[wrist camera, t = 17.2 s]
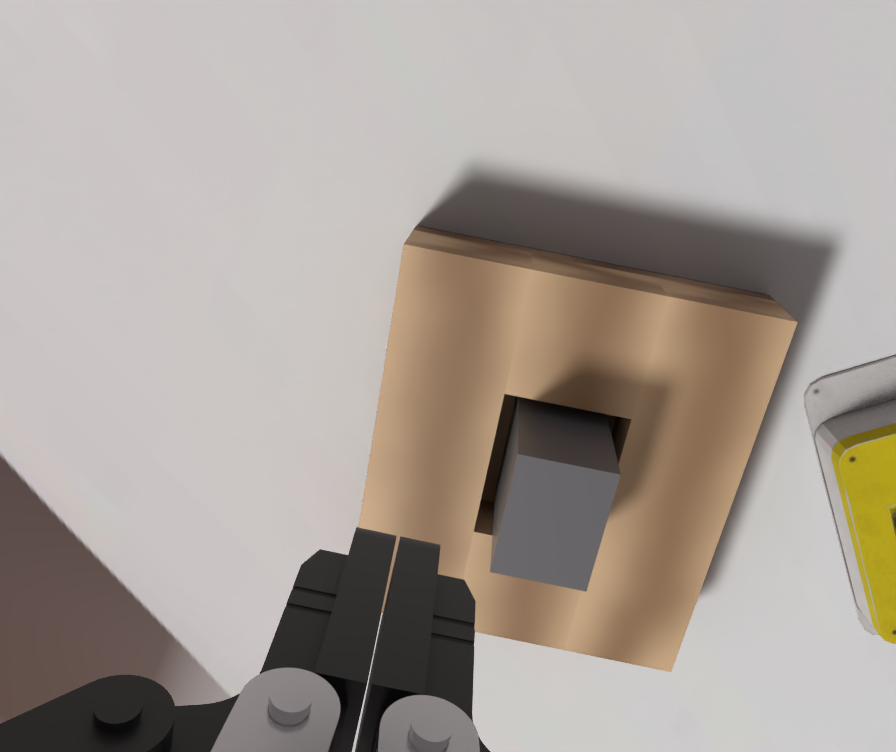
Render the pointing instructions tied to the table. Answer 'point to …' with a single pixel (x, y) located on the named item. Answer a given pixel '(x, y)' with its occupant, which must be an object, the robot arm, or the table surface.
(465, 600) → the robot arm
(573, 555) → the plug
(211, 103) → the table surface
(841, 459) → the emergency button
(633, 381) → the socket block
